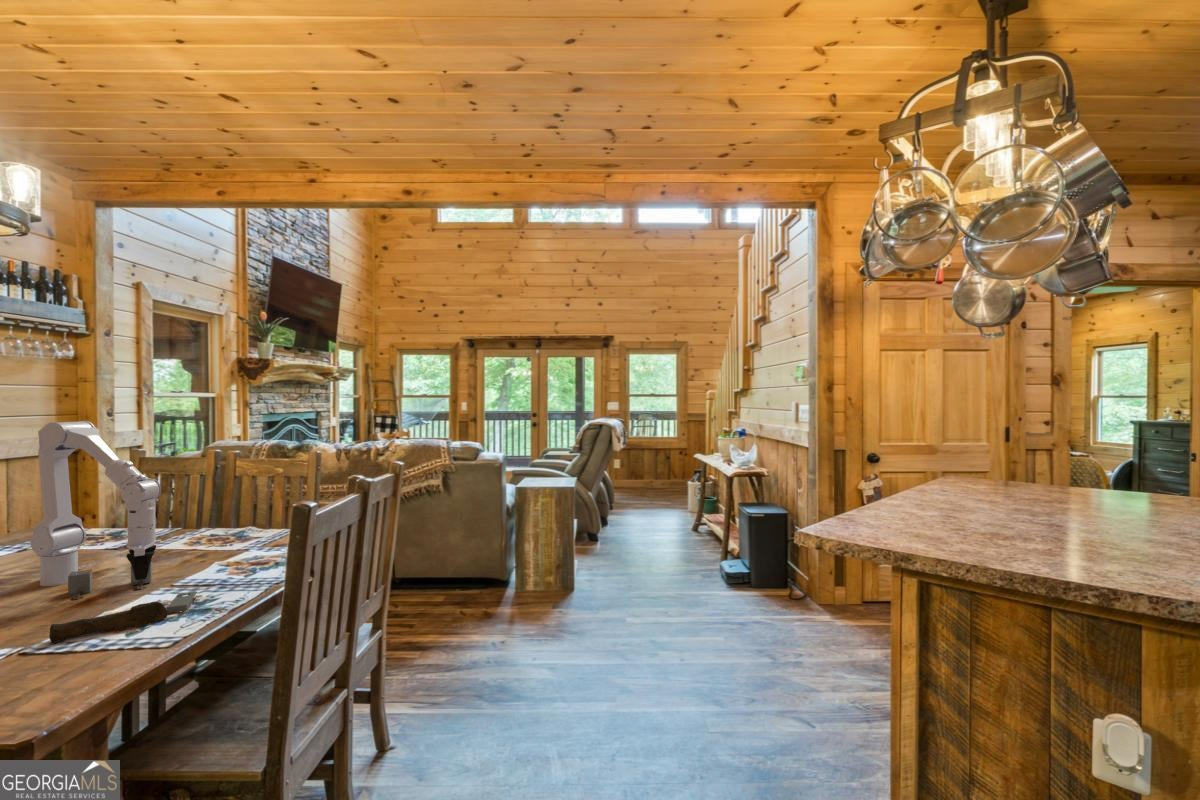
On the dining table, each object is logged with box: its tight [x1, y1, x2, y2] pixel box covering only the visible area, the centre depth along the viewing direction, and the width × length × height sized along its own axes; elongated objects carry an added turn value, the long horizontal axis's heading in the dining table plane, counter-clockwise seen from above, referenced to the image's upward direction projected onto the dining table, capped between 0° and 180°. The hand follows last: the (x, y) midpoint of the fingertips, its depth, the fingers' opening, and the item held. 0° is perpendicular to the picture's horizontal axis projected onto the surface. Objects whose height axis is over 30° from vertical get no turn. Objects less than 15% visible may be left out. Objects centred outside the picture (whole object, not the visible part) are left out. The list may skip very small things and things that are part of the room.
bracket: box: [166, 591, 198, 614], centre depth 135 cm, size 4×10×2 cm, turn 25°
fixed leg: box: [67, 569, 93, 601], centre depth 138 cm, size 8×4×5 cm, turn 36°
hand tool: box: [48, 601, 168, 645], centre depth 120 cm, size 19×4×5 cm, turn 128°
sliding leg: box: [130, 559, 153, 590], centre depth 145 cm, size 8×4×5 cm, turn 36°
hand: (141, 576), depth 147 cm, fingers closed on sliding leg, 4 cm apart
